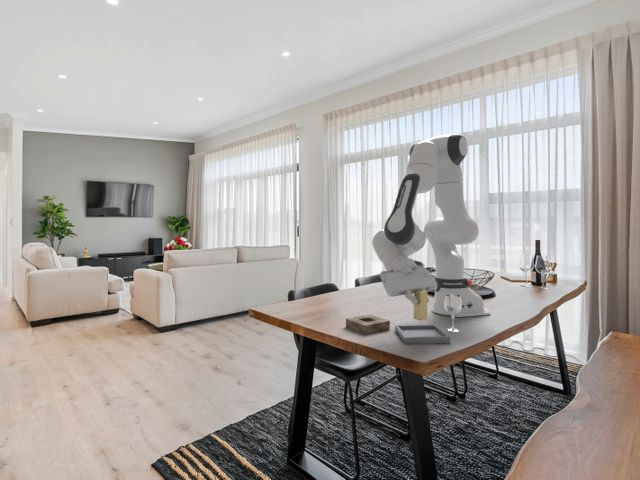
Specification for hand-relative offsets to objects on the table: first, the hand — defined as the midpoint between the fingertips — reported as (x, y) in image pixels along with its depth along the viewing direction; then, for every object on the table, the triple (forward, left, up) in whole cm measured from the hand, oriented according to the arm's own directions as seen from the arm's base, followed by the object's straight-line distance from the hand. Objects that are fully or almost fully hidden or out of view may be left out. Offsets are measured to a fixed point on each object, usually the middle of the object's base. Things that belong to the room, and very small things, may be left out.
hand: (421, 302), depth 122 cm
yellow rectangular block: (0, 0, -5) cm, 5 cm away
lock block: (+16, -12, -11) cm, 23 cm away
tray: (0, -1, -11) cm, 11 cm away
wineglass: (-13, -8, -12) cm, 19 cm away
